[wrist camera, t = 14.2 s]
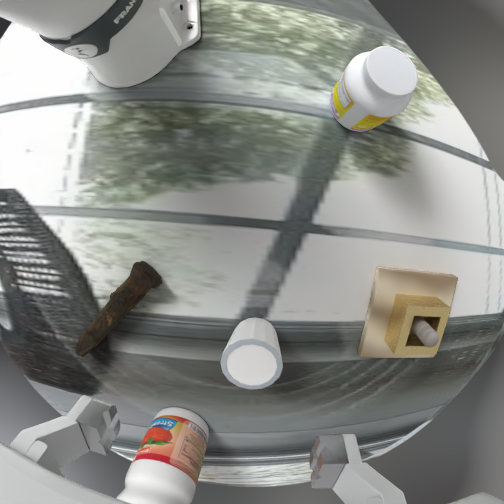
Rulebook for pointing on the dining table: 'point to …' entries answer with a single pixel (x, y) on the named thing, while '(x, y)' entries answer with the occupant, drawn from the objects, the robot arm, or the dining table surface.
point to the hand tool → (119, 305)
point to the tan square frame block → (402, 320)
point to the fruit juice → (168, 459)
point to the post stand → (382, 304)
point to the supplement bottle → (373, 89)
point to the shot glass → (252, 355)
